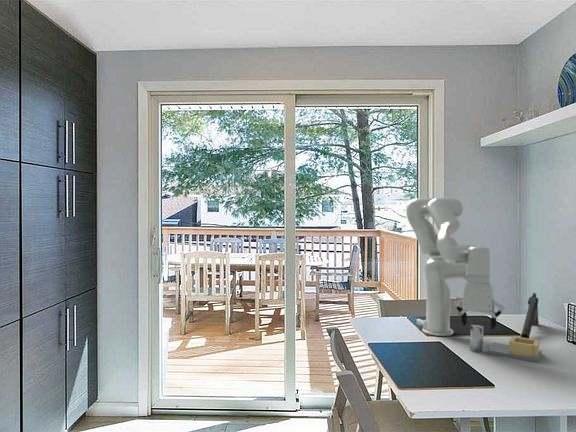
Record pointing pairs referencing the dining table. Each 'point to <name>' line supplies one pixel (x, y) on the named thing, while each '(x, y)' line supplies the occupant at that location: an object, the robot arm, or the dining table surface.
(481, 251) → the robot arm
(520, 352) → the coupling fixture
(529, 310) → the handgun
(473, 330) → the pipe stub
